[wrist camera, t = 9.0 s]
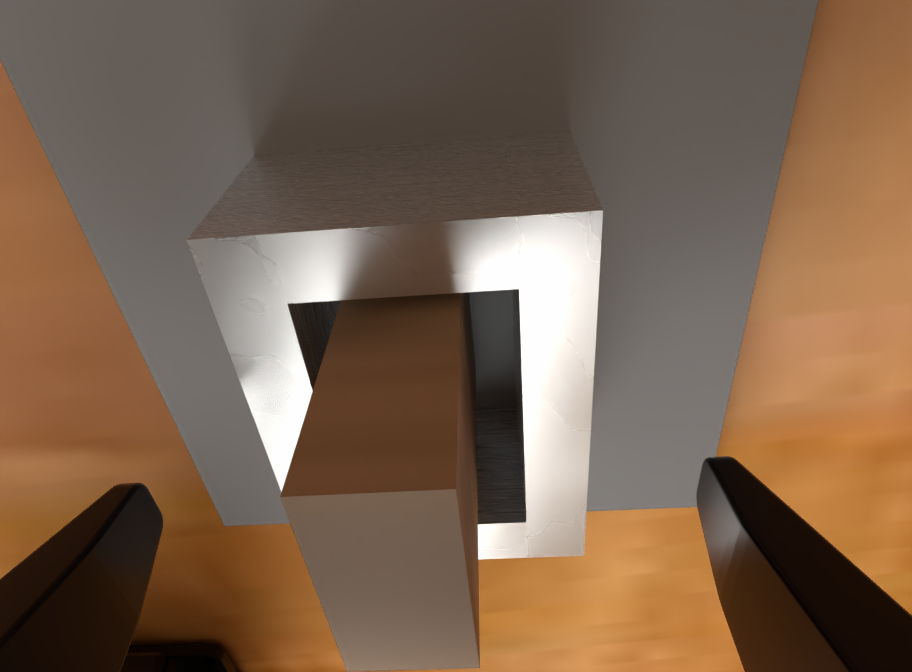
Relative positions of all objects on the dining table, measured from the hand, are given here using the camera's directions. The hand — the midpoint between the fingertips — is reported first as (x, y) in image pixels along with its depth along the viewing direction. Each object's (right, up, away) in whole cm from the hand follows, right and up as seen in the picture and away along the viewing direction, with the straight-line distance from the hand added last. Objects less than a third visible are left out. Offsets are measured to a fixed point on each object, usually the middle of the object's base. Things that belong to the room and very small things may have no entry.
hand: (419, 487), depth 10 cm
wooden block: (0, +3, +4) cm, 5 cm away
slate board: (0, +3, +5) cm, 6 cm away
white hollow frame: (0, +3, +5) cm, 6 cm away
